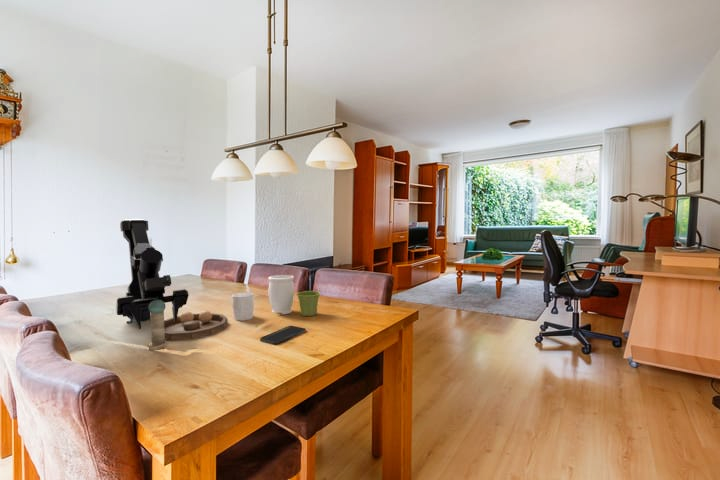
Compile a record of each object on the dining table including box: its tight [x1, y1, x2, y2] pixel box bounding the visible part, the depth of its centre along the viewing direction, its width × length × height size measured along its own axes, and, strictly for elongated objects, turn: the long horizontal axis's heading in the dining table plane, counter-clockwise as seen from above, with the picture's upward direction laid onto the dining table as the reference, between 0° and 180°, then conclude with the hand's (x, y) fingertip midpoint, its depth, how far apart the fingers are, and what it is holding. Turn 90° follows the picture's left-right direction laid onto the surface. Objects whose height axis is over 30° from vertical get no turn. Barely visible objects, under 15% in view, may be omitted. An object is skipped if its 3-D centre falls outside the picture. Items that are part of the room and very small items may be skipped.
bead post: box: [148, 300, 169, 351], centre depth 101 cm, size 5×5×15 cm
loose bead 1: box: [179, 311, 194, 324], centre depth 121 cm, size 4×4×4 cm
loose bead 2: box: [199, 310, 212, 323], centre depth 122 cm, size 4×4×4 cm
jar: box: [267, 274, 295, 316], centre depth 139 cm, size 11×10×15 cm
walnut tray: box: [164, 312, 229, 341], centre depth 116 cm, size 22×22×3 cm
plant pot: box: [296, 290, 321, 317], centre depth 136 cm, size 9×9×9 cm
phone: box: [259, 325, 307, 346], centre depth 111 cm, size 8×1×15 cm
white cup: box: [231, 291, 255, 321], centre depth 128 cm, size 8×8×10 cm
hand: (158, 324), depth 100 cm, fingers open, 9 cm apart
